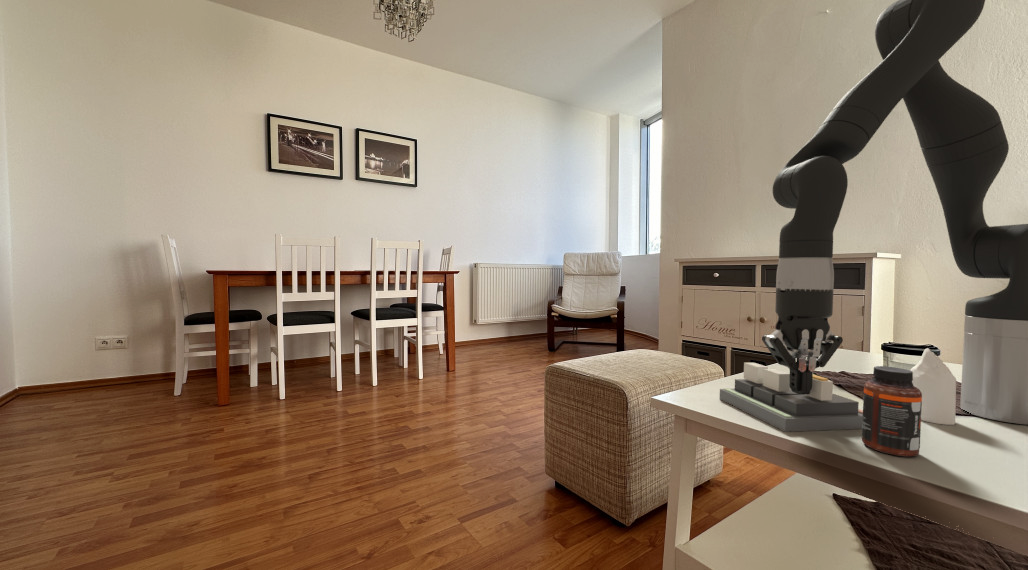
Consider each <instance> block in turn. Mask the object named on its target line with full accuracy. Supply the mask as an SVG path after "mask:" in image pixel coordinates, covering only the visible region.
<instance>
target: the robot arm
mask: <svg viewBox="0 0 1028 570" xmlns="http://www.w3.org/2000/svg"><path fill="white" fill-rule="evenodd" d="M985 3H986V0H897V1H894V2H893V3H892V4H890V5H888V6H887V7H886V8H884V10H882V12H881V13H880V14H879V16H878V18H877V20H876V21H875V22H876V23H875V25H874V26H875V28H874V37H875V39H874V40H875V43H876V47H877V49H878V52H879V54H880V56H881V59H882V61H880V62H879V64H878V65H876V66H875V67H874V68H873V69H871V71H870V72H868V74H866V75H864V77H863V78H862V79H861V80H859V82H857V83H856V84H855V85H854V86H853V87H852V88H851V89H849V90H848V91H847V92H846V93H845V94H844V95H843V96H842V97H841V99H840V100H838V102H837V103H836V105H835V106H834V107H833V108H832V110H831V111H830V113H829V114H828V115H827V117H826V118H825V119H824V121H823V122H822V123H821V125H820V126H819V128H818V129H817V131H816V132H815V134H813V136H812V137H811V138H810V139H809V140H808V141H807V142H806V143H805V144H804V145H803V146H802V147H801V148H800V149H799V150H798V151H797V152H796V153H794V155H793V156H792V157H791V158H790V159H789V160H788V161H787V162H786V164H785V165H784V166H783V167H782V168H781V169H780V171H779V172H778V174H777V176H776V177H775V179H774V181H773V184H772V195H773V199H774V201H775V202H776V203H777V204H778V205H779V206H781V207H783V208H786V209H791V210H792V209H795V210H794V215H793V218H792V219H791V220H790V221H789V222H787V223H786V224H785V225H783V226H782V228H781V229H780V232H779V240H778V242H779V246H778V254H779V255H778V258H779V259H778V264H777V267H776V278H775V282H776V284H775V313H776V315H777V316H778V317H777V321H776V324H775V326H774V327H775V330H774V331H773V332H771V333H770V334H769V335H767V334H764V335H763V336H762V337H761V341H762V343H763V344H764V345H765V346H766V348H767V349H768V351H769V352H770V354H771V356H772V357H773V358H774V359H775V361H776V363H777V364H778V365H780V366H784V367H787V368H788V370H789V374H790V380H789V386H790V388H791V390H792V392H795V393H797V394H810V391H811V389H812V376H813V375H814V374H813V373H814V372H815V370H816V369H817V368H825V366H826V365H827V364H828V362H829V361H830V359H832V357H833V356H834V354H835V353H836V351H837V350H838V349H839V347H840V346H841V344H842V343H843V341H844V339H843V337H842V336H839V335H835V334H834V333H833V332H832V331H830V330H831V326H830V322H829V320H828V318H831V317H832V316H833V312H834V310H833V309H834V284H835V283H834V282H835V270H834V269H835V268H834V264H833V263H834V261H833V256H834V254H833V253H834V231H835V227H836V225H837V223H838V221H839V217H840V216H841V215H840V214H841V211H842V208H843V205H844V202H845V199H846V194H847V191H848V185H849V184H848V180H849V179H848V174H847V171H846V168H845V167H844V164H845V163H848V162H849V161H851V160H852V159H854V158H857V156H858V155H860V153H861V152H862V151H863V150H864V149H865V147H866V146H867V145H868V144H869V142H870V141H871V139H872V138H873V137H874V135H875V133H877V131H878V130H879V129H880V127H881V125H882V124H883V123H884V121H886V119H887V118H888V116H889V115H890V114H891V112H892V111H893V110H894V108H896V106H897V105H898V103H900V101H901V100H903V102H904V105H905V107H906V109H907V112H908V114H909V117H910V119H911V122H912V125H913V127H914V130H915V132H916V136H917V139H918V143H919V146H920V148H921V149H920V150H921V152H922V155H923V157H924V160H925V163H926V166H927V168H928V171H929V173H930V175H931V177H932V180H933V181H932V182H933V183H934V186H935V188H936V192H937V195H938V198H939V201H940V204H941V207H942V211H943V215H944V219H945V224H946V230H947V233H948V237H949V242H950V248H951V251H952V255H953V259H954V262H955V264H956V266H957V267H958V269H959V270H960V272H961V273H962V274H964V275H965V276H967V277H970V278H974V279H975V278H977V279H1009V281H1008V283H1007V286H1006V287H1005V288H1004V289H1002V290H1000V291H998V292H996V293H993V294H992V293H991V294H990V295H986V296H981V297H976V298H972V299H969V300H967V301H966V303H965V308H964V325H963V348H962V349H963V350H962V366H961V367H962V368H961V385H960V386H961V387H960V403H959V404H960V405H959V406H960V407H959V408H961V409H963V410H965V411H967V412H969V413H968V414H970V413H971V415H974V416H976V417H981V418H984V419H985V418H986V419H989V420H994V421H999V422H1005V423H1010V424H1018V425H1019V424H1020V425H1026V426H1027V425H1028V223H1022V224H1020V223H1019V224H1009V225H994V226H989V225H988V223H987V222H986V219H985V218H986V217H985V214H984V201H985V198H986V195H987V193H988V191H989V190H990V187H991V186H992V184H993V182H994V181H995V180H996V177H998V174H999V173H1000V171H1001V169H1002V167H1003V166H1004V164H1005V162H1006V159H1007V156H1008V153H1009V151H1010V150H1009V149H1010V147H1009V146H1010V145H1009V141H1008V138H1007V135H1006V131H1005V129H1004V126H1003V122H1002V118H1001V116H1000V113H999V112H998V110H997V109H996V108H995V106H994V105H992V104H991V103H990V102H989V101H988V100H987V99H986V98H984V97H982V96H981V95H979V94H977V93H976V92H974V91H972V90H971V89H969V88H967V87H966V86H964V85H962V84H961V83H959V82H958V81H957V80H955V79H953V77H951V76H950V75H949V74H948V73H947V72H946V70H945V69H944V68H943V66H942V65H941V63H940V59H941V58H942V57H943V56H944V55H945V54H946V53H947V52H948V51H950V49H952V47H953V46H954V45H955V44H956V43H957V42H959V41H960V40H961V39H962V37H963V36H965V34H967V33H968V31H970V29H971V28H972V27H973V26H974V25H975V23H976V22H977V21H978V19H979V17H980V16H981V14H982V12H983V10H984V6H985ZM961 409H960V410H961ZM963 410H962V411H963ZM965 411H964V412H965ZM967 412H966V413H967Z"/></svg>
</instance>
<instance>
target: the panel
mask: <svg viewBox="0 0 1028 570" xmlns="http://www.w3.org/2000/svg"><path fill="white" fill-rule="evenodd" d="M719 400H721V401H723V402H724V401H725V402H724V403H726V402H727V404H728V403H729V405H730V404H731V405H730V406H732V405H733V407H734V406H735V407H734V408H736V407H737V408H736V409H738V408H739V409H738V410H740V409H741V410H740V411H742V410H743V412H744V411H745V412H744V413H746V412H747V414H748V413H749V415H750V414H751V416H752V417H754V416H755V418H757V419H759V420H761V421H763V422H765V423H766V424H769V425H771V426H773V427H774V428H776V429H778V430H781V431H783V432H786V433H787V432H788V433H789V432H790V431H791V432H814V431H815V432H816V431H818V432H819V431H839V430H862V423H863V409H860V408H859V401H857V400H854V399H851V398H848V397H844V396H842V395H839V394H836V393H832V400H818V399H816V398H813V397H810V396H807V395H804V394H797V393H795V392H792V390H791V388H790V386H789V391H782V392H778V391H776V390H773V389H770V388H768V387H765V386H763V383H755V382H752V381H749V380H747V379H744V378H741V379H740V378H739V379H737V378H736V379H734V388H730V387H729V388H728V387H727V388H720V389H719ZM791 432H790V433H791Z"/></svg>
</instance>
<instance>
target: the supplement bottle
mask: <svg viewBox="0 0 1028 570" xmlns="http://www.w3.org/2000/svg"><path fill="white" fill-rule="evenodd" d="M910 370H911V369H907V368H903V367H902V368H901V367H894V366H885V365H884V366H883V365H880V366H879V365H878V366H877V365H876V366H873V374H872V375H873V378H871V379H870V380H867V381H866V382H865V383H864V386H863V401H862V411H863V423H862V429H861V439H862V440H861V441H862V443H863V444H864V445H866V446H867V447H869V448H870V449H872V450H875V451H878V452H880V453H882V454H883V453H884V454H886V455H892V456H897V457H905V458H909V457H910V458H912V457H915V456H919V454H920V448H921V430H922V429H921V427H922V420H921V410H922V409H921V408H922V393H921V391H920V390H919V389H918V388H917V387H914V386H913V383H912V381H913V372H912V371H910Z"/></svg>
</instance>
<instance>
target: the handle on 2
mask: <svg viewBox="0 0 1028 570" xmlns="http://www.w3.org/2000/svg"><path fill="white" fill-rule="evenodd" d="M789 380H790V372H785V371H782V370H779V369H775V368H768V369H763V386H765V387H768V388H770V389H773V390H776V391H778V392H782V391H789Z"/></svg>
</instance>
